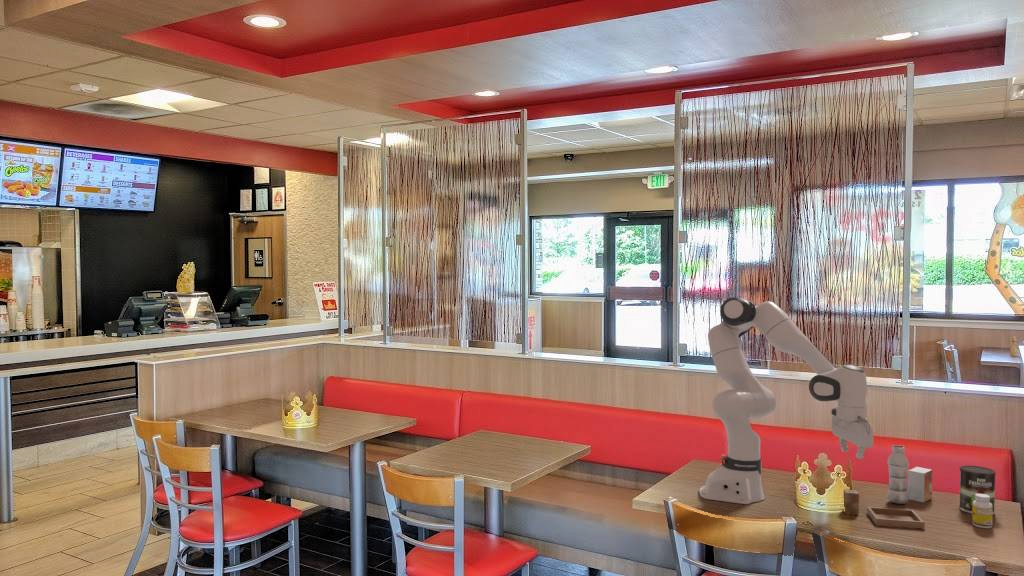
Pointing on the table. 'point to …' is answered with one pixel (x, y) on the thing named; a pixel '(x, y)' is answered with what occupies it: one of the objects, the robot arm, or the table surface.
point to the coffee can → (975, 486)
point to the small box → (920, 484)
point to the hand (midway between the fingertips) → (852, 454)
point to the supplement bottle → (982, 511)
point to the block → (851, 501)
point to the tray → (895, 517)
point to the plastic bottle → (898, 476)
